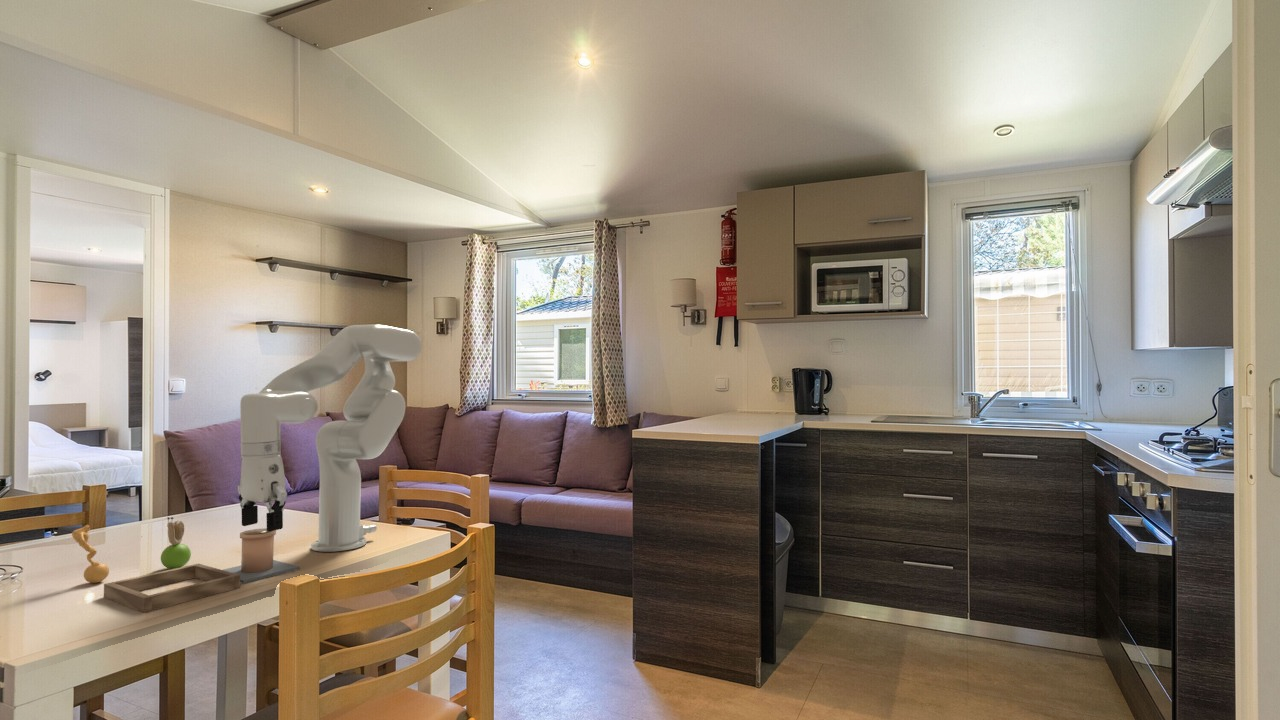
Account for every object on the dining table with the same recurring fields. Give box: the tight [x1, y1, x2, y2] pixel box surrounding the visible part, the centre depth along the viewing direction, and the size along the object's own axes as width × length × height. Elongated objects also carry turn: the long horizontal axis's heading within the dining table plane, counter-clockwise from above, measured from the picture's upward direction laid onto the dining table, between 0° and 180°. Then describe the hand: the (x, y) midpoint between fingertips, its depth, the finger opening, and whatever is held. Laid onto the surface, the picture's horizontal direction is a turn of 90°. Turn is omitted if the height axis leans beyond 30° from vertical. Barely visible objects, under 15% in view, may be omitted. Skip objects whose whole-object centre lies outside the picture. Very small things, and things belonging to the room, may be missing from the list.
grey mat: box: [222, 559, 301, 584], centre depth 139 cm, size 12×12×1 cm
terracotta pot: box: [239, 527, 277, 573], centre depth 139 cm, size 7×7×8 cm
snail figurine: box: [160, 516, 192, 570], centre depth 141 cm, size 5×6×12 cm
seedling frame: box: [103, 563, 241, 613], centre depth 125 cm, size 16×16×2 cm
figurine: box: [71, 524, 110, 584], centre depth 130 cm, size 8×6×12 cm
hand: (262, 527), depth 140 cm, fingers open, 9 cm apart
